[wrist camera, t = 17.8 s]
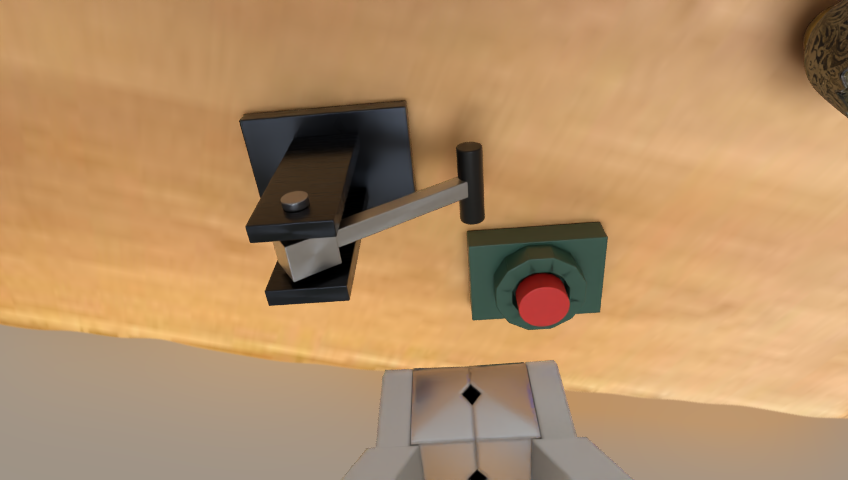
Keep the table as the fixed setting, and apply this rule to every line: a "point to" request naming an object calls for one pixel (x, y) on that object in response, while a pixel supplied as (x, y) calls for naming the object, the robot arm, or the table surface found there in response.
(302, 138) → the bracket
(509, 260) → the button block
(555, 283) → the button
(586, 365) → the table surface
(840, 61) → the cup
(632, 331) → the table surface
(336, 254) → the lever
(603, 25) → the table surface
